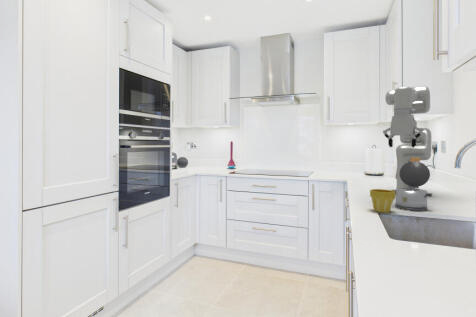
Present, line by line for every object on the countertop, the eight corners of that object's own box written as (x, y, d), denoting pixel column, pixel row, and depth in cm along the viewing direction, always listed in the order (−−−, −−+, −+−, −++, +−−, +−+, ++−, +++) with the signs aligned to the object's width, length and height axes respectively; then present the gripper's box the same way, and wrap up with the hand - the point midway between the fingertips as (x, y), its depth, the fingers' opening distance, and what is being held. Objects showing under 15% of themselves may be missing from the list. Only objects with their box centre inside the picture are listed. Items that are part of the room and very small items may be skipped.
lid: (398, 186, 140) (399, 186, 141) (428, 189, 131) (429, 189, 132) (400, 157, 141) (401, 157, 142) (430, 157, 133) (430, 158, 133)
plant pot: (388, 208, 130) (388, 188, 130) (399, 214, 120) (399, 192, 120) (366, 208, 131) (366, 188, 131) (374, 213, 121) (375, 192, 121)
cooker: (394, 203, 143) (395, 186, 142) (433, 208, 132) (433, 189, 131) (388, 207, 132) (388, 189, 132) (429, 213, 121) (430, 193, 121)
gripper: (424, 111, 129) (423, 147, 131) (385, 114, 141) (384, 146, 142) (422, 110, 124) (421, 147, 125) (381, 113, 136) (380, 147, 137)
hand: (401, 147), depth 134 cm, fingers open, 9 cm apart
